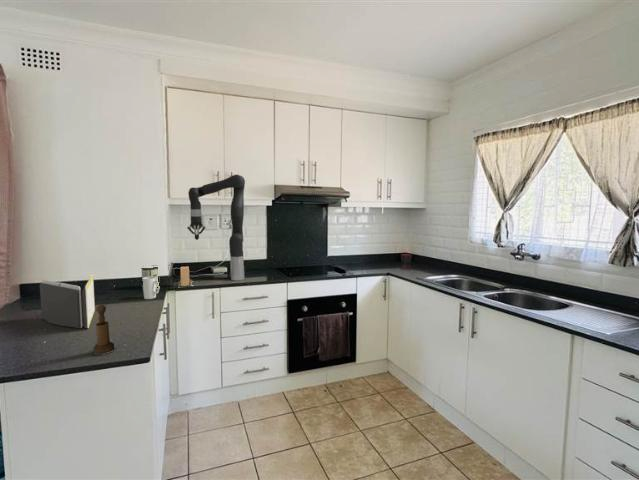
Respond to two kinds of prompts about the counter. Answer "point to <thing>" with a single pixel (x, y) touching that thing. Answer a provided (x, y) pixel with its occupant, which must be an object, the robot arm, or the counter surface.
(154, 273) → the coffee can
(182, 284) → the block
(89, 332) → the counter surface
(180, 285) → the chute
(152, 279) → the mug
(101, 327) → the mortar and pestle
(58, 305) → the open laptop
